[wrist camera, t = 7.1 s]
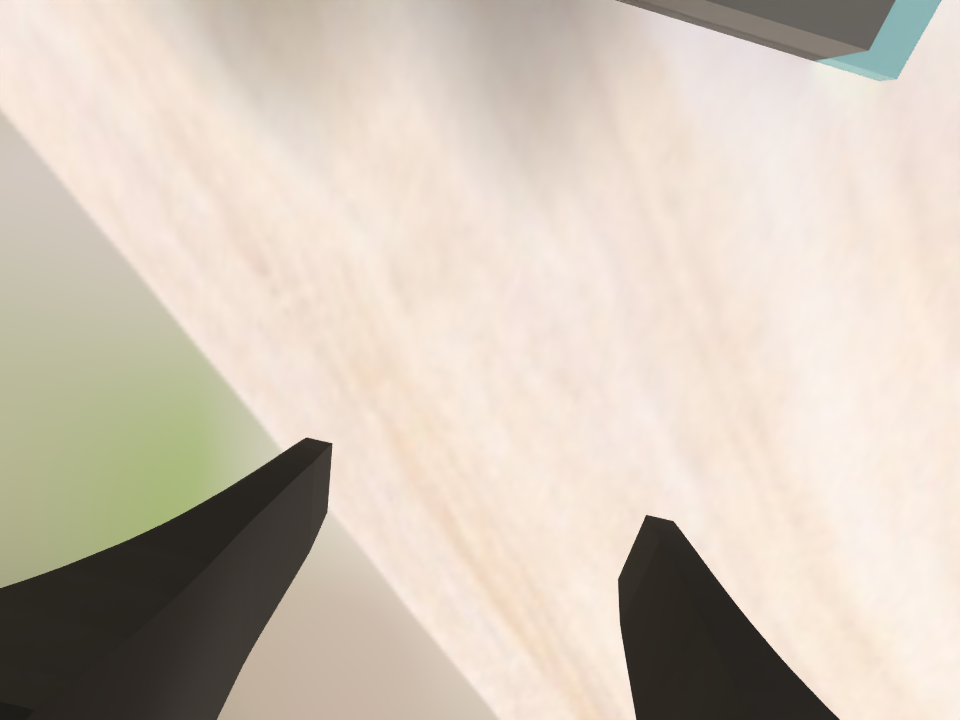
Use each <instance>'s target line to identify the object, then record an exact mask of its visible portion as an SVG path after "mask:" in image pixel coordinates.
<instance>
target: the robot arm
mask: <svg viewBox="0 0 960 720" xmlns="http://www.w3.org/2000/svg"><path fill="white" fill-rule="evenodd" d="M331 456H332V443H328V442H324V441H319V440H315V439H311V438H305V439H303V440H301V441H300V442H298V443H297V444H295V445H294V446H292V447H291V448H289V449H288V450H286V451H285V452H283V453H282V454H280V455H279V456H277V457H276V458H274V459H273V460H271V461H270V462H268V463H266V464H265V465H263V466H262V467H260V468H259V469H257V470H256V471H254V472H253V473H251V474H249V475H248V476H246V477H245V478H243V479H241V480H240V481H238V482H237V483H235V484H233V485H232V486H230V487H229V488H227V489H226V490H224V491H222V492H220V493H219V494H217V495H215V496H213V497H211V498H210V499H208V500H206V501H205V502H203V503H201V504H199V505H197V506H196V507H194V508H192V509H190V510H189V511H187V512H185V513H183V514H181V515H179V516H177V517H176V518H174V519H172V520H170V521H168V522H166V523H164V524H162V525H160V526H157V527H155V528H153V529H151V530H149V531H147V532H145V533H143V534H140V535H138V536H136V537H134V538H132V539H130V540H127V541H125V542H123V543H120V544H118V545H115V546H113V547H111V548H108V549H106V550H103V551H101V552H98V553H96V554H93V555H91V556H89V557H86V558H83V559H81V560H79V561H76V562H74V563H71V564H69V565H66V566H63V567H61V568H58V569H55V570H53V571H50V572H47V573H45V574H41V575H39V576H36V577H33V578H30V579H27V580H24V581H21V582H18V583H15V584H12V585H9V586H6V587H3V588H0V720H217V718H218V715H219V714H220V712H221V709H222V707H223V706H224V703H225V701H226V699H227V697H228V695H229V693H230V691H231V689H232V686H233V685H234V683H235V680H236V679H237V676H238V674H239V672H240V670H241V668H242V666H243V664H244V663H245V661H246V659H247V657H248V655H249V653H250V652H251V650H252V648H253V646H254V644H255V643H256V641H257V639H258V638H259V636H260V634H261V633H262V631H263V629H264V627H265V626H266V624H267V623H268V621H269V619H270V618H271V616H272V614H273V612H274V611H275V609H276V608H277V606H278V604H279V602H280V601H281V599H282V598H283V596H284V594H285V593H286V591H287V589H288V588H289V586H290V584H291V583H292V581H293V579H294V578H295V576H296V574H297V572H298V571H299V569H300V567H301V566H302V564H303V562H304V561H305V559H306V557H307V555H308V554H309V552H310V550H311V547H312V545H313V543H314V541H315V538H316V537H317V534H318V532H319V530H320V528H321V525H322V523H323V520H324V518H325V516H326V514H327V509H328V495H329V482H330V469H331ZM618 589H619V612H620V626H621V633H622V639H623V645H624V651H625V657H626V663H627V668H628V674H629V680H630V686H631V691H632V697H633V703H634V708H635V714H636V720H840V719H839V718H838V717H837V716H835V715H834V714H833V713H832V712H831V711H830V710H829V709H828V708H827V707H826V706H825V705H824V704H823V702H822V701H821V700H820V699H819V698H818V697H817V696H816V695H815V694H814V693H813V692H812V691H811V690H810V689H809V688H808V687H807V686H806V685H805V684H804V682H803V681H802V680H801V679H800V678H799V677H798V676H797V675H796V674H795V673H794V672H793V671H792V670H791V669H790V668H789V666H788V665H787V664H786V663H785V662H784V661H783V660H782V659H781V658H780V656H779V655H778V654H777V653H776V652H775V651H774V650H773V648H772V647H771V646H770V645H769V644H768V642H767V641H766V640H765V639H764V638H763V637H762V635H761V634H760V633H759V632H758V631H757V629H756V628H755V627H754V626H753V625H752V623H751V622H750V621H749V620H748V619H747V617H746V616H745V615H744V614H743V612H742V611H741V610H740V609H739V607H738V606H737V605H736V604H735V602H734V601H733V600H732V598H731V597H730V596H729V595H728V593H727V592H726V591H725V589H724V588H723V587H722V585H721V584H720V583H719V581H718V580H717V579H716V577H715V576H714V575H713V573H712V572H711V571H710V569H709V568H708V567H707V565H706V564H705V563H704V561H703V560H702V559H701V557H700V556H699V555H698V553H697V552H696V550H695V549H694V548H693V546H692V545H691V544H690V542H689V541H688V540H687V538H686V537H685V536H684V534H683V533H682V532H681V530H680V529H679V528H678V526H677V525H676V524H675V523H674V521H670V520H666V519H662V518H657V517H653V516H648V515H646V517H645V519H644V521H643V524H642V526H641V528H640V531H639V533H638V535H637V537H636V540H635V542H634V544H633V547H632V549H631V551H630V553H629V556H628V558H627V560H626V563H625V565H624V567H623V569H622V572H621V574H620V576H619V578H618Z"/></svg>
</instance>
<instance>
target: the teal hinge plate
mask: <svg viewBox="0 0 960 720" xmlns="http://www.w3.org/2000/svg"><path fill="white" fill-rule="evenodd" d="M617 1H620V2H623V3H626V4H630V5H633V6H636V7H639V8H643V9H646V10H649V11H652V12H656V13H659V14H662V15H665V16H669V17H672V18H675V19H679V20H682V21H685V22H688V23H692V24H695V25H698V26H701V27H705V28H708V29H711V30H714V31H718V32H721V33H724V34H727V35H731V36H734V37H737V38H740V39H744V40H747V41H750V42H753V43H757V44H760V45H763V46H766V47H770V48H773V49H776V50H779V51H783V52H786V53H789V54H793V55H796V56H799V57H802V58H806V59H809V60H812V61H815V62H819V63H822V64H825V65H828V66H832V67H835V68H838V69H841V70H845V71H848V72H851V73H854V74H858V75H861V76H864V77H867V78H871V79H874V80H877V81H883V80H893V79H897V78H898V76H899V74H900V73H901V71H902V69H903V67H904V66H905V64H906V62H907V60H908V58H909V57H910V55H911V53H912V51H913V50H914V48H915V46H916V44H917V43H918V41H919V39H920V37H921V35H922V34H923V32H924V30H925V28H926V27H927V25H928V23H929V21H930V20H931V18H932V16H933V14H934V13H935V11H936V9H937V7H938V5H939V4H940V2H941V0H617Z"/></svg>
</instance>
